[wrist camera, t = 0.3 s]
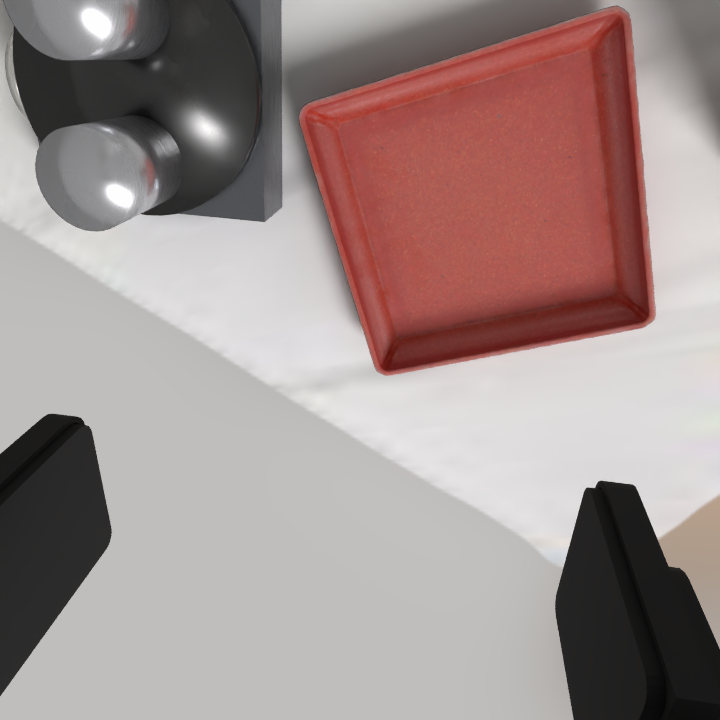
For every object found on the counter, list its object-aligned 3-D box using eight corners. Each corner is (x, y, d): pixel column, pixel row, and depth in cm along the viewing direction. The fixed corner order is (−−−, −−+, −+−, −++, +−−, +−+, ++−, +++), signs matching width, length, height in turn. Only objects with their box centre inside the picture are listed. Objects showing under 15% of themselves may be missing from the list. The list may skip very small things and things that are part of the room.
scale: (40, -56, 35) (-30, -74, 30) (284, -44, 34) (253, -62, 29) (79, 185, 42) (26, 203, 37) (284, 204, 40) (259, 225, 35)
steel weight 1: (71, -55, 30) (-13, -79, 25) (165, -51, 29) (101, -74, 24) (86, 56, 32) (13, 56, 27) (174, 62, 32) (117, 63, 26)
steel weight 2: (94, 112, 34) (26, 122, 28) (179, 118, 33) (125, 130, 28) (107, 201, 36) (46, 226, 31) (186, 208, 35) (137, 235, 30)
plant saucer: (615, 3, 32) (631, -2, 29) (644, 307, 39) (659, 327, 36) (306, 102, 37) (292, 106, 34) (382, 357, 44) (377, 379, 41)
